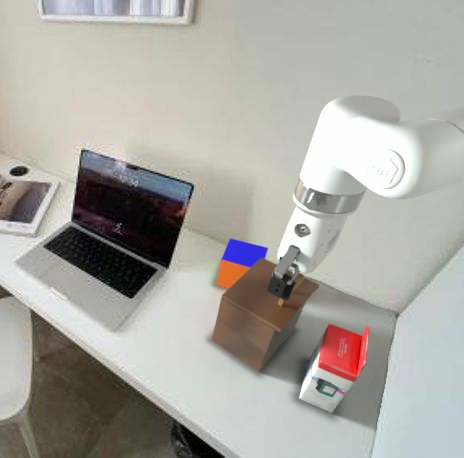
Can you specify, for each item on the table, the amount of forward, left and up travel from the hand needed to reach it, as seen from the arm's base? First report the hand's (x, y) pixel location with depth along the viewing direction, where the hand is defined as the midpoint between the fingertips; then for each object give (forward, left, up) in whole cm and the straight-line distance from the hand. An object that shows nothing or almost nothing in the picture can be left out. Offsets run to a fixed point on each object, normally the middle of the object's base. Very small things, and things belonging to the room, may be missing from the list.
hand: (292, 279), depth 59 cm
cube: (+13, -12, -18) cm, 25 cm away
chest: (+3, 0, -18) cm, 18 cm away
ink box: (-10, +2, -18) cm, 21 cm away
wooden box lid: (+2, 0, -5) cm, 6 cm away
